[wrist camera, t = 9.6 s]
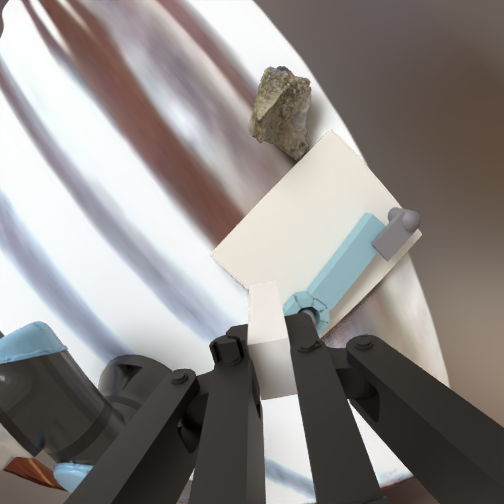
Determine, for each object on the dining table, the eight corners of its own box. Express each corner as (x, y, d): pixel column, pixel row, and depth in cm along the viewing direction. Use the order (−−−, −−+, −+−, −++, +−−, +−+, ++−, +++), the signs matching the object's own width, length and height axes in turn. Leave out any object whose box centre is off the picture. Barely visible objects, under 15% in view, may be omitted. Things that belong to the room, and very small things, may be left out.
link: (307, 336, 40) (309, 345, 38) (274, 315, 40) (276, 323, 37) (389, 233, 37) (397, 236, 35) (359, 206, 36) (366, 208, 34)
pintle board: (311, 341, 42) (318, 363, 36) (210, 253, 39) (203, 265, 34) (418, 232, 39) (440, 241, 33) (329, 130, 36) (341, 122, 30)
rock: (309, 164, 36) (254, 143, 28) (272, 157, 40) (215, 140, 32) (327, 82, 33) (277, 45, 26) (290, 82, 37) (238, 52, 30)
